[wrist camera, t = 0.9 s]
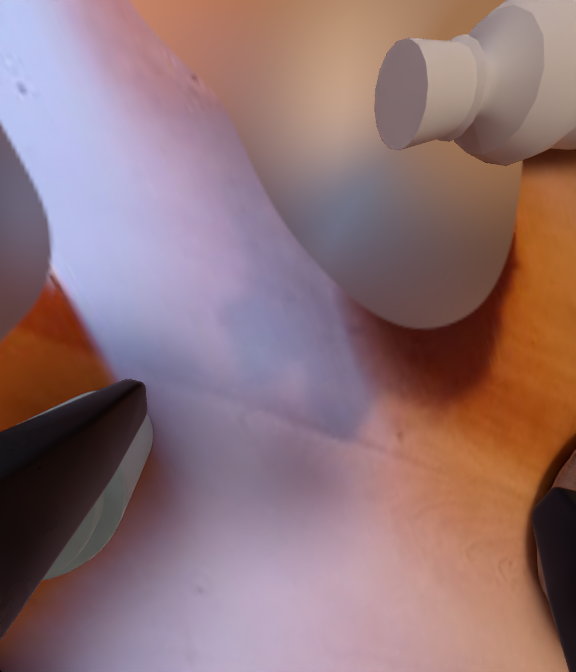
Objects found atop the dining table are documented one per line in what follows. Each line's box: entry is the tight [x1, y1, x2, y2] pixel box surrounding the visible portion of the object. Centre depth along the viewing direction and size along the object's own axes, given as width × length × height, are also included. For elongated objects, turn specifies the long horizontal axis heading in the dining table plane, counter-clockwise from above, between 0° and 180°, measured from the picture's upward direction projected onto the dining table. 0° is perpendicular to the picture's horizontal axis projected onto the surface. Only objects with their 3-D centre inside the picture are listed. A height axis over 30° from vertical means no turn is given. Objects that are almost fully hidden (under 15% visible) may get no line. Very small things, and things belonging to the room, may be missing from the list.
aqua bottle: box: [17, 391, 153, 580], centre depth 12 cm, size 5×5×10 cm
